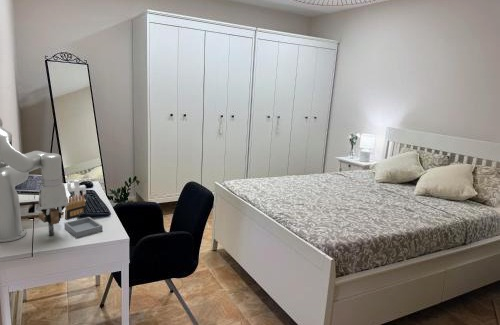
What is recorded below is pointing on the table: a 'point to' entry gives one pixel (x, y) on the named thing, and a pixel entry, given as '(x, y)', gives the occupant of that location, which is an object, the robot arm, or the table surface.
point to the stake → (51, 229)
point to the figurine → (76, 188)
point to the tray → (83, 227)
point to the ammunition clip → (75, 207)
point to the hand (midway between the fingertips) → (53, 220)
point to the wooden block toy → (54, 216)
